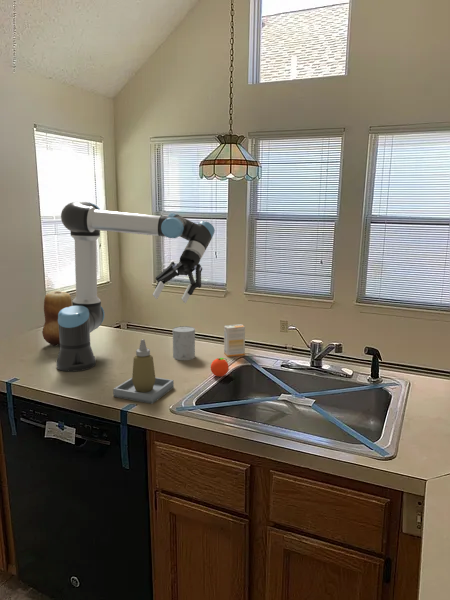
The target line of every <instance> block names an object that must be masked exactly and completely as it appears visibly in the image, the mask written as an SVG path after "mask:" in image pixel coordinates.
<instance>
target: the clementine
mask: <svg viewBox="0 0 450 600" xmlns="http://www.w3.org/2000/svg"><path fill="white" fill-rule="evenodd" d="M229 368H230V367H229V363H228V360H227V358H224V357H220V358H215V359H214V360H212V362H211V364H210V371H211V373H212V374H213V375H214V376H216V377H224V376H226V374H228V372H229Z"/></svg>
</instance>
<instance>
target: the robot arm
mask: <svg viewBox="0 0 450 600" xmlns="http://www.w3.org/2000/svg"><path fill="white" fill-rule="evenodd" d="M60 219H61V220H60V221H61V223H62V225H63V226H64V228H65V229H67V230H69V231H70V236H71V237H72V238H73V240H74V267H75V269H74V270H75V271H74V272H75V274H74V275H75V297H74V298H73V299H71V302H72V306H70V307H66V308H63V309H62V310H60V312H59V314H58V325H59V339H60V345H59V352H58V355H57V359H56V361H55V362H56V365H55V366H56V368H57V370H59V371H63V372H80V371H86V370H89V369H92V368H94V367H95V366H96V364H97V362H96V361H97V360H96V359H97V358H96V357H95V354H94V352H93V349H92V346H91V333H92V332H93V331H95V330H96V329H98V328H99V327H100V326H101V325H102V323H103V322H104V320H105V310H104V307H102V300H101V299H100V297H98V273H97V272H98V271H97V269H98V268H97V266H98V265H97V240H98V239H99V238H100V237H101V231H104V232H116V233H125V234H133V235H134V234H135V235H136V234H137V235H146V236H155V237H163V238H168V239H177V238H178V237H179V238H182V239H185V240H186V241H188V242H187V245H186V246H185V247H184V249H183V251H182V253H181V255H180V257H179V261H178V262H177V263H175V262H174V261H171V262H170V264H169V265H168V266H167V267H166V268H165V269H164V270H162V272H160V273H159V274H158V275H157V276H156V277H155V280H156V281H157V284H156V285H155V287H154V291H153V293H152V297H154V298H155V299H156V300H157V299H158V298H159V297H160V295H161V293H162V291H163V290H164V287H165V284H167V282H169V281H170V280H173V279H174V278H175V277H179V276H185V277H187V276H188V279H189V283H190V284H188V285H187V286H186V289H185V291H184V293H183V294H182V296H181V298H180V299H181V300H182V301H183V303H184V304H186V303H187V302H188V301H189V299H190V297H191V296H192V295H193V293H194V291H195V290H196V288H199V289H200V288H202V272H203V267H202V265H201V264H200V261H201V260H202V258H203V256H204V254H205V253H206V250H207V248H208V246H209V244H210V243H211V241H212V240H213V236H214V234H215V227H214V225H213V224H212V223H211V222H209V221H205V220H201V221H200V222H198V223H196V222H193V221H192V220H189V219H187V218H185V217H182V215H179V214H176V213H175V212H170V213H168V215H167V216H164V215H163V216H162V215H152V214H143V213H133V212H124V211H122V212H121V211H113V210H103V209H101V208H100V207H99V206H98V205H96V204H94V203H92V202H89V201H88V202H87V201H82V202H81V201H79V202H78V201H73V202H70V203H68V204H66V205H65V206H63V208H62V210H61V213H60ZM194 271H195V277H194V274H193V272H194Z"/></svg>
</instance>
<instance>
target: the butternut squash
mask: <svg viewBox="0 0 450 600" xmlns="http://www.w3.org/2000/svg"><path fill="white" fill-rule="evenodd" d="M70 306H72V296H71V294H70V293H68V292H65V291H62V290H53V291H49V292H48V293H46V294H45V296H44V301H43V312H44V315H43V316H44V324H43V328H42V331H41V333H42V337H43V339H44V340H45V342H46V343H48V344H49V345H50V346H53V347H55V346H56V345H57V346H60V339H59V325H58V314H59V312H60V310H62V309H63V308H66V307H70ZM57 346H56V347H57Z"/></svg>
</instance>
